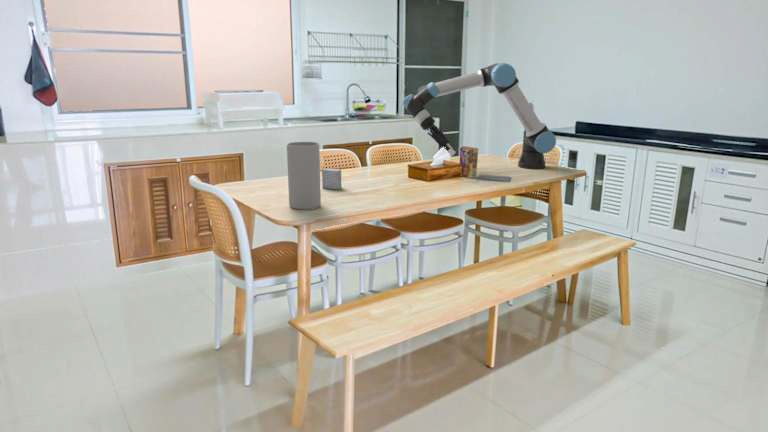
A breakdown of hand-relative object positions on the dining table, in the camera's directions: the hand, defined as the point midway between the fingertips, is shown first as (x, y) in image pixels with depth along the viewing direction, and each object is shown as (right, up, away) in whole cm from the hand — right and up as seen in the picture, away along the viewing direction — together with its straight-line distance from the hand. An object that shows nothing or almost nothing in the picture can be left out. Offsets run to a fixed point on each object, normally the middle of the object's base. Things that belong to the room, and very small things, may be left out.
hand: (453, 154), depth 269 cm
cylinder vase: (-68, -28, -60) cm, 95 cm away
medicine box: (-60, -19, -28) cm, 69 cm away
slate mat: (+20, -13, -4) cm, 24 cm away
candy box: (+7, -12, +1) cm, 14 cm away
